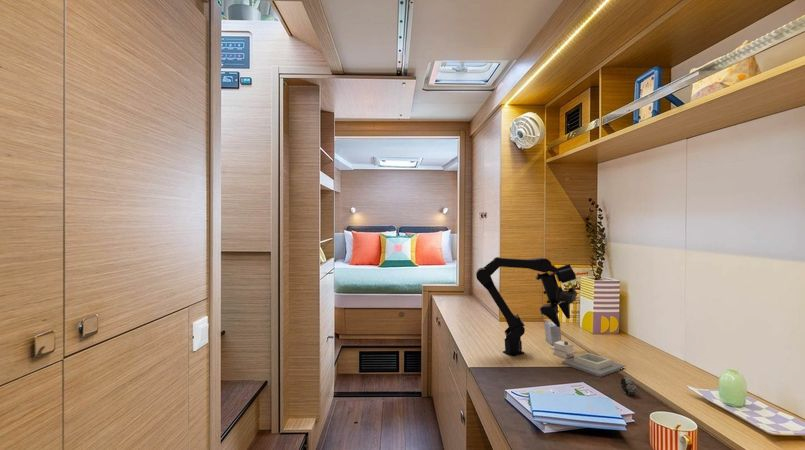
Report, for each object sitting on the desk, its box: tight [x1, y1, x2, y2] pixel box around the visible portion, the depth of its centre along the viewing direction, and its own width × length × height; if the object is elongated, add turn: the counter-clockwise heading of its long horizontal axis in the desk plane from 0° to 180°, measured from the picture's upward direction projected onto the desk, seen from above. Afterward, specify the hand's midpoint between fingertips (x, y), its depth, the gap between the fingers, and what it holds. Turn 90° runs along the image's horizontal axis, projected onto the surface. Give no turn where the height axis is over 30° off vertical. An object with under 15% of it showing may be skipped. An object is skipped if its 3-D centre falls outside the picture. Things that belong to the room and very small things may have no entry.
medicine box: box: [544, 321, 562, 346], centre depth 173 cm, size 8×4×9 cm, turn 179°
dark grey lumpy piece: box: [620, 376, 638, 396], centre depth 120 cm, size 3×5×5 cm
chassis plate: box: [561, 352, 626, 378], centre depth 143 cm, size 14×16×3 cm
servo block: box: [549, 340, 578, 360], centre depth 156 cm, size 4×10×6 cm, turn 27°
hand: (563, 322), depth 159 cm, fingers open, 9 cm apart
